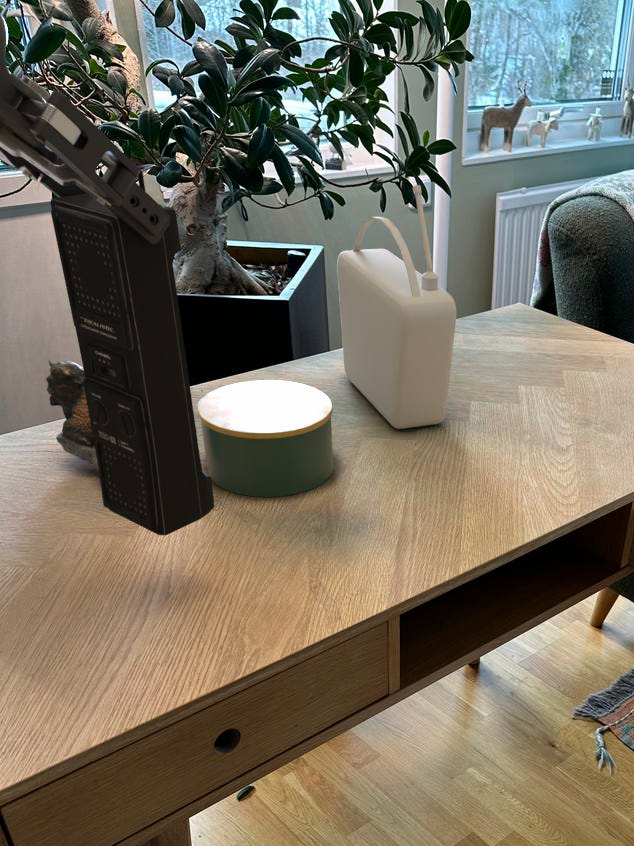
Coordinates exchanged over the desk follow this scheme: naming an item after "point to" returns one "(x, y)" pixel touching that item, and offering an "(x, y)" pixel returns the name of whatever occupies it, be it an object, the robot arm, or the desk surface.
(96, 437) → the portable radio
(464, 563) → the desk surface
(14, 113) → the robot arm
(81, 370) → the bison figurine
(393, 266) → the white watering can
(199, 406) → the tin
